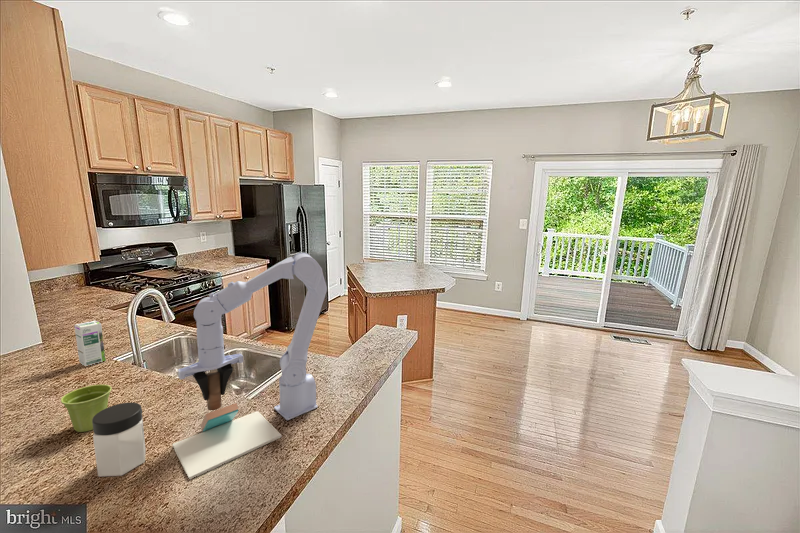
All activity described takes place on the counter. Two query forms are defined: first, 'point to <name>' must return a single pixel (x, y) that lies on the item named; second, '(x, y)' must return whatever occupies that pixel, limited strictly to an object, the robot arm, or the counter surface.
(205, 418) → the tile
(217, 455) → the board
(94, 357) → the syrup box
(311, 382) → the robot arm
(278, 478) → the counter surface
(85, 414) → the plant pot
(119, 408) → the jar
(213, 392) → the pestle
